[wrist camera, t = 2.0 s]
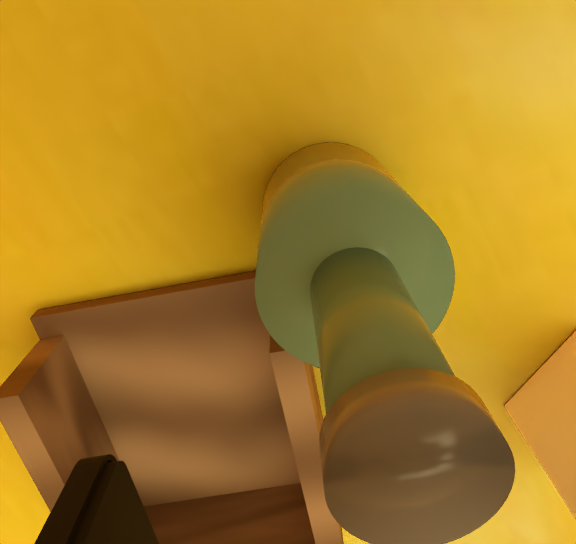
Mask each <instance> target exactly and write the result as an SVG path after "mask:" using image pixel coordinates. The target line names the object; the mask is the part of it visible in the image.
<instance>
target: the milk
mask: <svg viewBox="0 0 576 544" xmlns="http://www.w3.org/2000/svg"><path fill="white" fill-rule="evenodd" d="M504 407H505V409H506V411H507V412H508V414H509V416H510V417H511V419H512V420H513V422H514V423H515V425H516V427H517V428H518V430H519V431H520V433H521V434H522V436H523V437H524V439H525V441H526V442H527V444H528V445H529V447H530V448H531V450H532V452H533V453H534V455H535V456H536V458H537V459H538V461H539V463H540V464H541V466H542V467H543V469H544V470H545V472H546V474H547V475H548V477H549V478H550V480H551V481H552V483H553V485H554V486H555V488H556V489H557V491H558V492H559V494H560V496H561V497H562V499H563V500H564V502H565V503H566V505H567V507H568V508H569V510H570V511H571V513H572V514H573V516H574V518H575V519H576V331H575V332H574V333H573V334H572V335H571V336H570V337H569V338H568V339H567V340H566V341H565V342H564V343H563V344H562V345H561V347H560V348H559V349H558V350H557V351H556V352H555V353H554V354H553V355H552V356H551V357H550V358H549V359H548V360H547V361H546V362H545V363H544V364H543V365H542V366H541V368H540V369H539V370H538V371H537V372H536V373H535V374H534V375H533V376H532V377H531V378H530V379H529V380H528V381H527V382H526V383H525V384H524V385H523V386H522V387H521V389H520V390H519V391H518V392H517V393H516V394H515V395H514V396H513V397H512V398H511V399H510V400H509V401H508V402H507V403H506V404H505V406H504Z"/></svg>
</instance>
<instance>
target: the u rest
mask: <svg viewBox="0 0 576 544" xmlns="http://www.w3.org/2000/svg"><path fill="white" fill-rule="evenodd" d="M255 275H256V271H253V272H247V273H242V274H236V275H231V276H225V277H219V278H214V279H208V280H203V281H197V282H191V283H186V284H180V285H175V286H169V287H163V288H158V289H152V290H147V291H141V292H135V293H130V294H124V295H119V296H113V297H107V298H102V299H96V300H91V301H85V302H79V303H74V304H68V305H63V306H57V307H51V308H46V309H40V310H37V311H36V312H35V313H34V315H33V316H32V317H31V318H30V319H31V321H32V324H33V326H34V328H35V330H36V332H37V334H38V336H39V338H40V341H39V342H38V343H37V344H36V345H35V346H34V348H33V349H32V350H31V351H30V352H29V354H28V355H27V356H26V357H25V358H24V359H23V361H22V362H21V363H20V364H19V365H18V367H17V368H16V369H15V370H14V371H13V372H12V374H11V375H10V376H9V377H8V378H7V379H6V381H5V382H4V383H3V384H2V385H1V387H0V421H1V423H2V425H3V427H4V428H5V430H6V432H7V434H8V436H9V437H10V439H11V441H12V443H13V445H14V447H15V448H16V450H17V452H18V454H19V456H20V457H21V459H22V461H23V463H24V465H25V466H26V468H27V470H28V472H29V474H30V475H31V477H32V479H33V481H34V483H35V484H36V486H37V488H38V490H39V492H40V494H41V495H42V497H43V499H44V501H45V503H46V504H47V506H48V508H49V510H50V512H51V511H52V509H53V507H54V505H55V503H56V501H57V499H58V497H59V495H60V493H61V491H62V489H63V487H64V486H65V484H66V482H67V480H68V478H69V476H70V474H71V472H72V470H73V468H74V466H75V465H76V463H77V462H78V461H79V460H80V459H83V458H89V457H95V456H101V455H107V454H112V455H113V456H115V458H116V459H117V461H123V462H125V464H126V466H127V468H128V471H129V473H130V475H131V478H132V480H133V482H134V485H135V487H136V490H137V492H138V494H139V497H140V499H141V502H142V504H143V506H144V509H145V511H146V514H147V516H148V518H149V521H150V523H151V525H152V528H153V530H154V533H155V535H156V537H157V540H158V542H159V544H344V542H343V534H342V527H341V525H340V524H339V523H338V522H337V521H336V520H335V519H334V517H333V516H332V514H331V512H330V511H329V509H328V506H327V503H326V500H325V494H324V485H323V476H322V467H321V457H320V448H319V434H320V430H321V426H322V423H323V416H322V411H321V406H320V401H319V397H318V392H317V387H316V382H315V377H314V372H313V367H312V365H309V364H307V363H305V362H303V361H301V360H299V359H297V358H295V357H294V356H292V355H291V354H289V353H288V352H287V351H285V350H284V349H283V348H282V347H281V346H280V345H279V344H278V343H277V342H276V341H275V340H274V339H273V338H272V337H271V335H270V334H269V332H268V331H267V329H266V328H265V326H264V324H263V322H262V320H261V317H260V315H259V311H258V308H257V304H256V298H255Z"/></svg>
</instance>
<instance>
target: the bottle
mask: <svg viewBox="0 0 576 544" xmlns="http://www.w3.org/2000/svg"><path fill="white" fill-rule="evenodd" d="M454 282H455V270H454V261H453V257H452V253H451V250H450V247H449V245H448V243H447V240H446V238H445V236H444V235H443V233H442V232H441V230H440V229H439V227H438V226H437V225H436V224H435V223H434V221H433V220H432V219H431V218H430V217H429V216H428V215H427V214H426V213H425V212H424V211H423V210H422V209H421V207H420V206H419V205H418V204H417V203H416V202H415V201H414V200H413V199H412V198H411V197H410V196H409V195H408V194H407V193H406V192H405V191H404V190H403V188H402V187H401V186H400V185H399V184H398V183H397V182H396V181H395V180H394V179H393V178H392V177H391V176H390V175H389V174H388V173H387V172H386V171H385V169H384V168H383V167H382V166H381V165H380V164H379V163H378V162H377V161H376V160H375V159H374V158H373V157H371V156H370V155H369V154H367V153H366V152H364V151H363V150H361V149H358V148H356V147H354V146H351V145H347V144H343V143H331V142H327V143H319V144H315V145H311V146H308V147H305V148H303V149H300V150H299V151H297V152H295V153H293V154H292V155H291V156H289V157H288V158H287V159H285V160H284V161H283V162H282V163H281V164H280V165H279V167H278V168H277V169H276V170H275V172H274V173H273V175H272V177H271V178H270V180H269V182H268V185H267V187H266V190H265V194H264V199H263V208H262V217H261V227H260V237H259V246H258V256H257V266H256V275H255V298H256V304H257V308H258V311H259V315H260V317H261V320H262V322H263V324H264V326H265V328H266V329H267V331H268V332H269V334H270V335H271V337H272V338H273V339H274V340H275V341H276V342H277V343H278V344H279V345H280V346H281V347H282V348H283V349H284V350H285V351H287V352H288V353H289V354H291V355H292V356H294V357H295V358H297V359H299V360H301V361H303V362H305V363H307V364H309V365H312V366H315V367H318V368H320V371H321V379H322V386H323V393H324V401H325V408H326V416H325V418H324V420H323V423H322V426H321V430H320V434H319V448H320V457H321V467H322V476H323V485H324V494H325V500H326V503H327V506H328V509H329V511H330V512H331V514H332V516H333V517H334V519H335V520H336V521H337V522H338V523H339V524H340V525H341V526H342V527H343V528H344V529H345V530H346V531H348V532H349V533H350V534H352V535H354V536H355V537H357V538H359V539H361V540H363V541H366V542H368V543H371V544H444V543H448V542H451V541H453V540H456V539H459V538H461V537H463V536H465V535H467V534H469V533H471V532H473V531H474V530H476V529H477V528H479V527H480V526H482V525H483V524H484V523H486V522H487V521H488V520H489V519H490V518H491V517H493V516H494V515H495V514H496V513H497V511H498V510H499V509H500V508H501V507H502V505H503V504H504V502H505V501H506V499H507V497H508V495H509V493H510V491H511V489H512V485H513V482H514V476H515V463H514V458H513V454H512V451H511V449H510V447H509V445H508V443H507V441H506V440H505V438H504V436H503V435H502V433H501V431H500V430H499V428H498V426H497V425H496V423H495V421H494V420H493V418H492V416H491V415H490V413H489V411H488V409H487V408H486V406H485V404H484V403H483V401H482V400H481V398H480V397H479V395H478V394H477V393H476V392H475V391H474V390H473V389H472V388H471V387H470V386H469V385H467V384H466V383H465V382H463V381H462V380H460V379H458V378H456V377H455V375H454V373H453V372H452V370H451V368H450V366H449V364H448V363H447V361H446V359H445V357H444V355H443V354H442V352H441V350H440V348H439V346H438V345H437V343H436V341H435V339H434V337H433V336H432V333H433V332H434V331H435V330H436V329H437V327H438V326H439V324H440V323H441V321H442V319H443V318H444V316H445V314H446V312H447V309H448V307H449V305H450V301H451V298H452V295H453V289H454Z"/></svg>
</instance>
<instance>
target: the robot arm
mask: <svg viewBox="0 0 576 544" xmlns="http://www.w3.org/2000/svg"><path fill="white" fill-rule="evenodd" d="M35 544H159V542H158V540H157V537H156V535H155V533H154V530H153V528H152V525H151V523H150V521H149V518H148V516H147V514H146V511H145V509H144V506H143V504H142V502H141V499H140V497H139V494H138V492H137V490H136V487H135V485H134V482H133V480H132V478H131V475H130V473H129V471H128V468H127V466H126V464H125V462H123V461H117V459H116V458H115V456H113V455H112V454H107V455H101V456H95V457H89V458H83V459H80V460H79V461H78V462H77V463H76V465H75V466H74V468H73V470H72V472H71V474H70V476H69V478H68V480H67V482H66V484H65V486H64V487H63V489H62V491H61V493H60V495H59V497H58V499H57V501H56V503H55V505H54V507H53V509H52V511H51V513H50V515H49V517H48V519H47V521H46V522H45V524H44V526H43V528H42V530H41V532H40V534H39V536H38V538H37V540H36V542H35Z"/></svg>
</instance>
